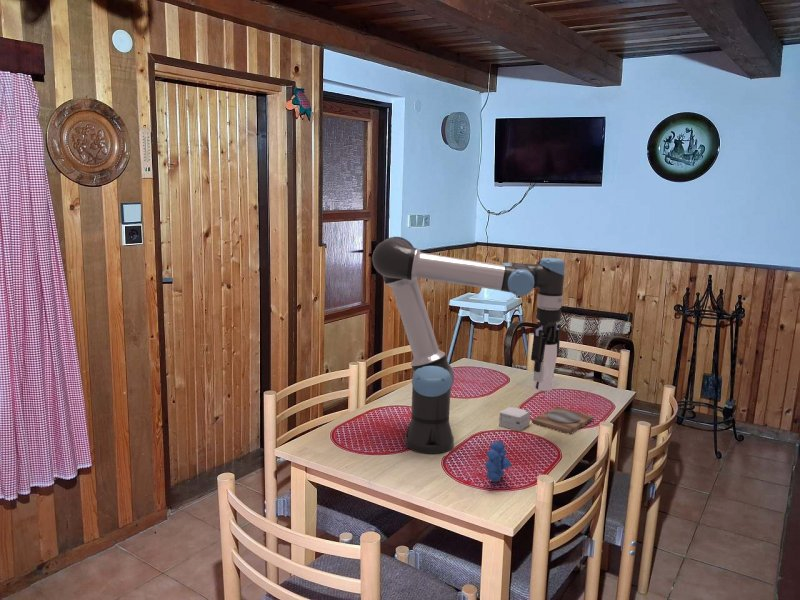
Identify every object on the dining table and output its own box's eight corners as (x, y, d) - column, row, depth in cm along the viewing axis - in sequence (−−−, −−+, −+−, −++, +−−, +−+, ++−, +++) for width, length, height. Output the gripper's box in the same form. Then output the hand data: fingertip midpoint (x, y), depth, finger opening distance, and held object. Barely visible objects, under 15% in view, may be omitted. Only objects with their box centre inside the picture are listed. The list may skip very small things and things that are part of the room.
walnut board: (569, 434, 216) (570, 428, 216) (532, 423, 225) (532, 417, 225) (593, 420, 230) (593, 414, 229) (556, 410, 238) (557, 405, 238)
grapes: (503, 494, 173) (505, 451, 171) (478, 488, 176) (481, 445, 174) (516, 477, 183) (519, 436, 181) (493, 472, 186) (495, 431, 184)
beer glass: (552, 385, 213) (556, 340, 211) (555, 392, 206) (559, 345, 204) (530, 384, 214) (534, 339, 211) (532, 390, 207) (536, 344, 204)
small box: (498, 426, 222) (499, 411, 221) (509, 420, 228) (510, 405, 227) (518, 432, 217) (519, 417, 216) (530, 425, 223) (531, 411, 223)
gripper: (544, 313, 196) (538, 388, 200) (574, 306, 211) (568, 375, 215) (522, 309, 201) (517, 382, 205) (553, 302, 215) (547, 370, 219)
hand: (543, 378), depth 210 cm, fingers closed on beer glass, 7 cm apart
